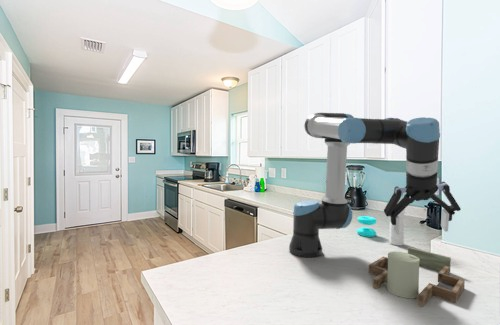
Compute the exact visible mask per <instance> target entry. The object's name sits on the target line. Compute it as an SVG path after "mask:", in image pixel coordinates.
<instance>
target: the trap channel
mask: <svg viewBox="0 0 500 325" xmlns="http://www.w3.org/2000/svg"><path fill="white" fill-rule="evenodd" d="M407 253H408V254H411V255H414V256H416V257H418V258H419V259H420V262H419V266H422V267H425V268H428V269H433V270H436V271H438V273H437V282H438V283H437V284H433V283H430V282H428V284H427V285H426V286H425V287H424V288H423V289H422V290H421V291H420V292H419V295H418V297H417V306H420V307H424V306H425V304H426V303H427V302H429V300H430V299H431V297H432V296H434V297H437V298H440V299H443V300H446V301H449V302H452V303H455V304H456V303H457V302H458V300H459V298H460V296H461V295H462V293H463V291H464V290H465V279H463V278H459V277H456V276H452V275H450V274H451V263H452V262H451V260H452V259H451V258H452V257H451V256H447V255H442V254H438V253H434V252H431V251H426V250H422V249H417V248H413V247H410V246H409V247H407ZM368 273H369V274H371V275H374V276H375V277H374V278H373V280H372V281H373V284H372V288H373V289H376V290H377V289H379V288H380V287H381V286H383V285H384V284H385V283H387V280H388V256H387V257H386V256H381V257H380V258H378V259H376V260H375V261H374V262H372V263H370V264H368Z"/></svg>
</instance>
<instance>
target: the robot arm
mask: <svg viewBox="0 0 500 325" xmlns="http://www.w3.org/2000/svg"><path fill="white" fill-rule="evenodd" d="M303 127H304V130H305V132H306V134H307V135H309V136H310V137H312V138H316V139H324V143H325V145H326V146H327V154H326V155H327V156H326V175H325V176H326V177H325V178H326V179H325V196H324V197H323V198H321V203H320V202H319V201H318V200H310V199H309V200H303V201H302V200H301V201H298V202H297V203H294V205H293V213H292V214H293V229H292V230H293V231H292V235H291V236H292V237H291V239H290V243H289V247H288V252H290V253H291V254H293V255H295V256H298V257H303V258H317V257H319V256H322V254H323V247H322V242H321V239H320V236H319V232H320V230H328V229H329V230H334V229H335V230H336V229H337V230H339V229H346V228H348V227H349V226H350V224H351V223H352V220H353V210H352V207H351V205H350V204H348V203H349V202H348V200H347V199H346V198H345V193H346V191H345V190H346V177H347V176H346V173H347V157H348V156H347V155H348V146H349V145H350V144H376V145H378V144H382V145H395V146H398V147H399V148H402V149H405V152H406V154H405V155H406V156H405V159H406V161H405V162H406V163H405V164H406V165H405V166H406V167H405V168H406V169H405V172H406V174H405V176H406V177H405V182H406V184H405V187H399V186H395V187H394V190H393V193H392V195H391V197H390V198H389V200H388V202H387V204H386V206H385V207H384V209H383V212H384V214H385V216H386V217H389V220H390V219H391V223H392V225H394V230H395V232H396V234H399V217H398V215H399V214H400V213H401V212H402V211H403V210H404V209H406V208H407V207H408V206H409V205H410V204H413V203H414V202H415V201H416V202H419V201H428V200H429V199H432V200H433V201H434V202H435V203H437V204H438V205H439V206H440V207H442V208H441V217H440V218H441V219H440V227H441V228H442V229H443V231H444V232H446V233H447V232H449V222H451V221H452V220H453V216H454V215H455V214H456V211H457V212H460V211H461V208H462V207H461V206H460V204H458V202H457V200H456V199H455V197H454V195H453V194H452V192H451V187H450V185H449V184H447V182H445V181H441V182H440V183H439V184H438V168H439V167H438V166H439V148H440V139H441V138H440V137H441V133H440V130H441V128H440V122H439V121H438V119H436V118H433V117H416V118H412V119H410V120H408V121H407V120H403V119H401V118H395V117H386V118H366V117H365V118H361V117H360V118H359V117H354V116H353V115H352V114H350V113H344V112H343V113H342V112H341V113H340V112H339V113H338V112H316V113H313V114H311V115H309V116H308V117H307V118H306V119H305V122H304V125H303ZM438 190H439V191H441V192H442V193H443V194H444V196H445V198H446V199H447V201H448V202H449V204H447V203H446V202H445V201H444V200H443V199H441V198H440V197H439V196H438V195H436V193H437V191H438ZM401 196H403V197H401ZM400 199H401V201H400V202H399V203H398V201H399V200H400ZM397 203H398V204H397ZM404 211H405V210H404Z"/></svg>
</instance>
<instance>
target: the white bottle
mask: <svg viewBox="0 0 500 325" xmlns="http://www.w3.org/2000/svg"><path fill="white" fill-rule="evenodd" d="M402 198H404V195H403V196H401V198H400V200H399V201H398V203H399V202H400V201H401V200H402ZM398 203H397V204H398ZM405 209H406V208H405ZM405 209H404V210H403V211H402V212H401V213H400V214H399V215H398V217H399V234H396V232H395V230H394V225H392V223H391V219H390V218H389V235H388V236H389V238H388V239H389V240H388V242H389V244H391V245H393V246H404V244H405V242H404V241H405V240H404V239H405Z"/></svg>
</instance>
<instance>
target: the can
mask: <svg viewBox="0 0 500 325" xmlns="http://www.w3.org/2000/svg"><path fill="white" fill-rule="evenodd" d="M387 258H388V280H387V281H386V283H387V284H386V289H387V291H389V292H390V293H392V294H393V295H395V296H398V297H400V298H405V299H416V298H417V299H418V295H419V294H420V292H419V291H420V290H419V289H420V286H419V282H420V281H419V279H420V265H419V262H420V259H419V258H418V257H416V256H414V255H411V254H408V252H402V251H390V252H388V253H387Z"/></svg>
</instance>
